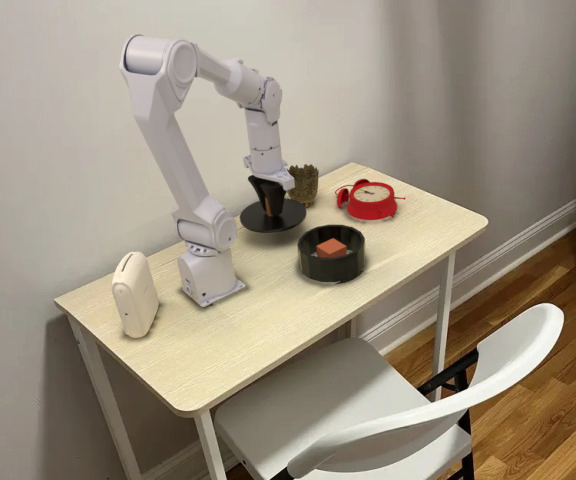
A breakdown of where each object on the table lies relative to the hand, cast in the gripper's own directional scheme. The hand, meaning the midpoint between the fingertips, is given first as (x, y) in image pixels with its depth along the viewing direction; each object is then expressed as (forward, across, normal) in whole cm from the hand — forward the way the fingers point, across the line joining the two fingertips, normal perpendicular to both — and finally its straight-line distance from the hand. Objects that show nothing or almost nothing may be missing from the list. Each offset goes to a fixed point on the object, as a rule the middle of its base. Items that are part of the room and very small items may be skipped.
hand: (272, 211), depth 134 cm
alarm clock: (+6, -3, -21) cm, 22 cm away
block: (+6, -16, -2) cm, 17 cm away
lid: (+1, 0, 0) cm, 1 cm away
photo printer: (+6, -7, +33) cm, 35 cm away
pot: (+6, -16, -2) cm, 17 cm away
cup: (+6, +7, -12) cm, 15 cm away
